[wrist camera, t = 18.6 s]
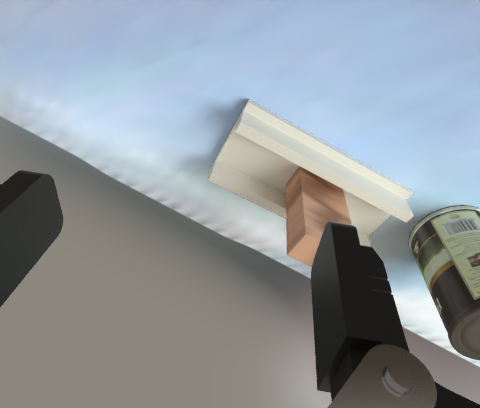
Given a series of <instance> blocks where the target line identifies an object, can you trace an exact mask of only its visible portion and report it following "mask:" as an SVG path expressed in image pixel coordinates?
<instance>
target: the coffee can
mask: <svg viewBox="0 0 480 408" xmlns="http://www.w3.org/2000/svg"><path fill="white" fill-rule="evenodd" d="M409 247H410V250H411V252H412V254H413V256H414V258H415V260H416V262H417V264H418V267H419V269H420V271H421V273H422V276H423V278H424V280H425V282H426V285H427V287H428V289H429V291H430V294H431V296H432V298H433V301H434V303H435V305H436V308H437V310H438V312H439V314H440V317H441V319H442V321H443V323H444V326H445V328H446V330H447V332H448V338H449V340H450V343H451V345H452V346H453V348H454V349H455V350H456V351H457V352H459V353H460V354H462V355H464V356H466V357H469V358H472V359H476V360H480V208H476V207H472V206H454V207H449V208H445V209H441V210H439V211H436V212H434V213H432V214H430V215H428V216H427V217H426V218H424V219H423V220H422V221H420V222H419V223H418V224H417V225H416V227H415V228H414V229H413V231H412V233H411V235H410V238H409Z"/></svg>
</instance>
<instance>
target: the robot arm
mask: <svg viewBox="0 0 480 408" xmlns="http://www.w3.org/2000/svg"><path fill="white" fill-rule="evenodd" d="M62 225H63V214H62V210H61V207H60V203H59V199H58V195H57V191H56V187H55V183H54V180H53V178H52V177H51V176H50V175H48V174H42V173H36V172H30V171H23V170H21V171H18V172H17V173H15V174H14V175H13V176H11V177H10V178H9V179H8V180H7V181H5V182H4V183H3V184H2V185H1V184H0V307H1V305H3V303H4V302H5V301H6V300H7V298H8V297H9V296H10V295H11V293H12V292H13V291H14V290H15V289H16V287H17V286H18V285H19V283H20V282H21V281H22V280H23V279H24V277H25V276H26V275H27V274H28V272H29V271H30V270H31V269H32V267H33V266H34V265H35V264H36V263H37V261H38V260H39V259H40V257H41V256H42V255H43V254H44V252H45V251H46V250H47V249H48V247H49V246H50V245H51V244H52V243H53V241H54V240H55V239H56V238H57V237H58V235H59V233H60V231H61V229H62ZM387 279H388V277H387V274H386V270H385V267H384V263H383V261H382V260H381V259H380V257H379V256H378V255H377V253H376V252H375V251H374V249H373V248H372V247H369V246H363V245H360V241H359V237H358V232H357V228H356V227H355V226H353V225H347V224H341V223H335V222H327V224H326V226H325V228H324V231H323V234H322V237H321V240H320V243H319V246H318V248H317V251H316V254H315V257H314V260H313V264H312V271H311V286H312V305H313V322H314V339H315V355H316V373H317V390H319V391H325V392H331V398H332V402H331V404H330V405H329V406H328V408H480V405H479V404H477V403H475V402H473V401H471V400H469V399H466V398H465V397H462V396H461V395H458V394H456V393H454V392H452V391H450V390H448V389H446V388H444V387H443V386H441V385H439V384H438V383H436V382H435V381H434V380H433V377H432V376H431V374H430V372H429V370H428V369H427V368H426V367H425V365H424V364H423V363H422V362H421V361H420V360H419V359H418V358H417V357H415V356H414V355H413V354H411V353H410V352H409V349H408V346H407V342H406V339H405V336H404V332H403V329H402V325H401V322H400V318H399V315H398V312H397V308H396V305H395V301H394V298H393V295H391V292H392V291H391V287H390V284H389V281H387Z"/></svg>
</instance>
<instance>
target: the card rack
mask: <svg viewBox="0 0 480 408" xmlns="http://www.w3.org/2000/svg"><path fill="white" fill-rule="evenodd" d="M299 166H300V167H302V168H304V169H306V170H308V171H310V172H312V173H314V174H315V175H317V176H319V177H321V178H323V179H325V180H327V181H329V182H331V183H332V184H334V185H336V186H338V187H340V188H342V189H343V192H344V196H345V200H346V203H347V207H348V211H349V215H350V219H351V223H352V225H353V226H355V227H356V228H357V232H358V237H359V241H360V245H363V246H369V247H372V246H371V243H370V239H369V235H370V234H371V233H373V232H374V231H375V230H376V229H377V228H378V227H379V226H380V225H381V224H382V223H383V222H384V221H385V220H386V219H387V218H388V217H389V216H390V215H392V216H394V217H396V218H398V219H400V220H402V221H404V222H406V223H407V222H408V221H409V220H410V219H411V218H412V217H414V214H413V212H412V210H411V208H410V206H409V204H408V202H407V199H408V198H409V197H410V196H412V195H413V193H412V191H411V189H409V188H407V187H405V186H404V185H402V184H400V183H398V182H396V181H395V180H393V179H391V178H389V177H388V176H386V175H384V174H382V173H380V172H379V171H377V170H375V169H373V168H371V167H370V166H368V165H366V164H364V163H363V162H361V161H359V160H357V159H355V158H354V157H352V156H350V155H348V154H346V153H345V152H343V151H341V150H339V149H337V148H336V147H334V146H332V145H330V144H329V143H327V142H325V141H323V140H321V139H320V138H318V137H316V136H314V135H312V134H311V133H309V132H307V131H305V130H304V129H302V128H300V127H298V126H296V125H295V124H293V123H291V122H289V121H287V120H286V119H284V118H282V117H280V116H279V115H277V114H275V113H273V112H271V111H270V110H268V109H266V108H264V107H262V106H261V105H259V104H257V103H255V102H253V101H252V100H250V99H249V100H248V101H247V103H246V105H245V107H244V109H243V110H242V112H241V114H240V116H239V118H238V119H237V121H236V123H235V125H234V126H233V128H232V130H231V132H230V134H229V135H228V137H227V139H226V141H225V143H224V144H223V146H222V148H221V150H220V152H219V153H218V155H217V157H216V159H215V161H214V162H213V164H212V166H211V168H210V170H209V178H208V181H210V182H212V183H214V184H216V185H218V186H220V187H222V188H224V189H227V190H229V191H231V192H233V193H235V194H237V195H239V196H241V197H243V198H245V199H247V200H249V201H251V202H253V203H255V204H257V205H259V206H261V207H263V208H265V209H267V210H269V211H271V212H273V213H275V214H277V215H279V216H282V217H284V218H286V183H287V182H288V181H289V179H290V178H291V177H292V175H293V174H294V173H295V171H296V170H297V169H298V167H299Z"/></svg>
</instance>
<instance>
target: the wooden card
mask: <svg viewBox="0 0 480 408" xmlns="http://www.w3.org/2000/svg"><path fill="white" fill-rule="evenodd" d="M327 222H335V223H341V224H347V225H352V223H351V219H350V215H349V211H348V207H347V203H346V200H345V196H344V192H343V189H342V188H340V187H338V186H336V185H334V184H332V183H331V182H329V181H327V180H325V179H323V178H321V177H319V176H317V175H315V174H314V173H312V172H310V171H308V170H306V169H304V168H302V167H300V166H299V167H298V169H297V170H296V171H295V173H294V174H293V175H292V177H291V178H290V179H289V181H288V182H287V183H286V227H287V255H288V256H290V257H292V258H294V259H296V260H298V261H301V262H303V263H305V264H307V265H309V266H311V267H312V264H313V260H314V257H315V254H316V251H317V248H318V246H319V243H320V240H321V237H322V234H323V231H324V228H325V226H326V224H327Z"/></svg>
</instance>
